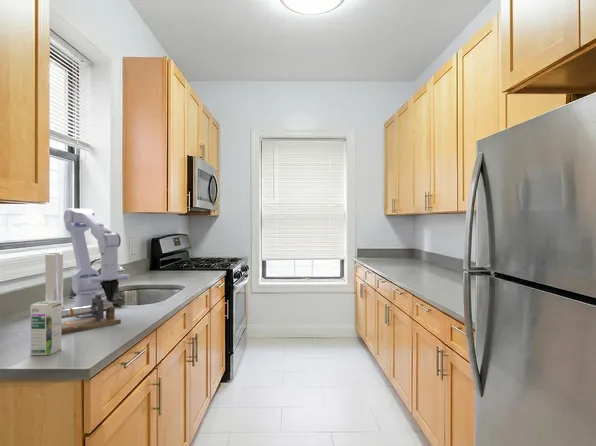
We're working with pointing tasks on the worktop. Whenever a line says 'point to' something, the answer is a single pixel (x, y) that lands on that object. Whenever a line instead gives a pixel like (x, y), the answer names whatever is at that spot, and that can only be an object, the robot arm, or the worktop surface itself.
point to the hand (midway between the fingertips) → (109, 300)
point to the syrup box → (45, 328)
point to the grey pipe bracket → (100, 307)
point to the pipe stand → (87, 322)
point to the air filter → (54, 277)
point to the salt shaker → (116, 298)
